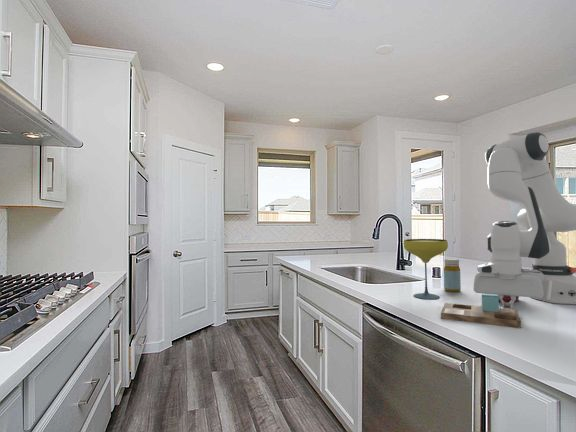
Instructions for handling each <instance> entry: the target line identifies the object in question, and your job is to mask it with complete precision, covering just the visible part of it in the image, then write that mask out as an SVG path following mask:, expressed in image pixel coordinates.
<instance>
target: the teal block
mask: <svg viewBox="0 0 576 432" xmlns="http://www.w3.org/2000/svg"><path fill="white" fill-rule="evenodd" d="M481 306H482V311H492V312H499V308H500V302H499V297H498V295H497V294H483V293H481Z"/></svg>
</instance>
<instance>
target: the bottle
mask: <svg viewBox="0 0 576 432" xmlns="http://www.w3.org/2000/svg"><path fill="white" fill-rule="evenodd" d="M443 288H444V290H445V292H451V293H459V292H461V288H462V287H461V268H460V259H459V258H453V257H449V258H447V257H445V258H444V267H443Z"/></svg>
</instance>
